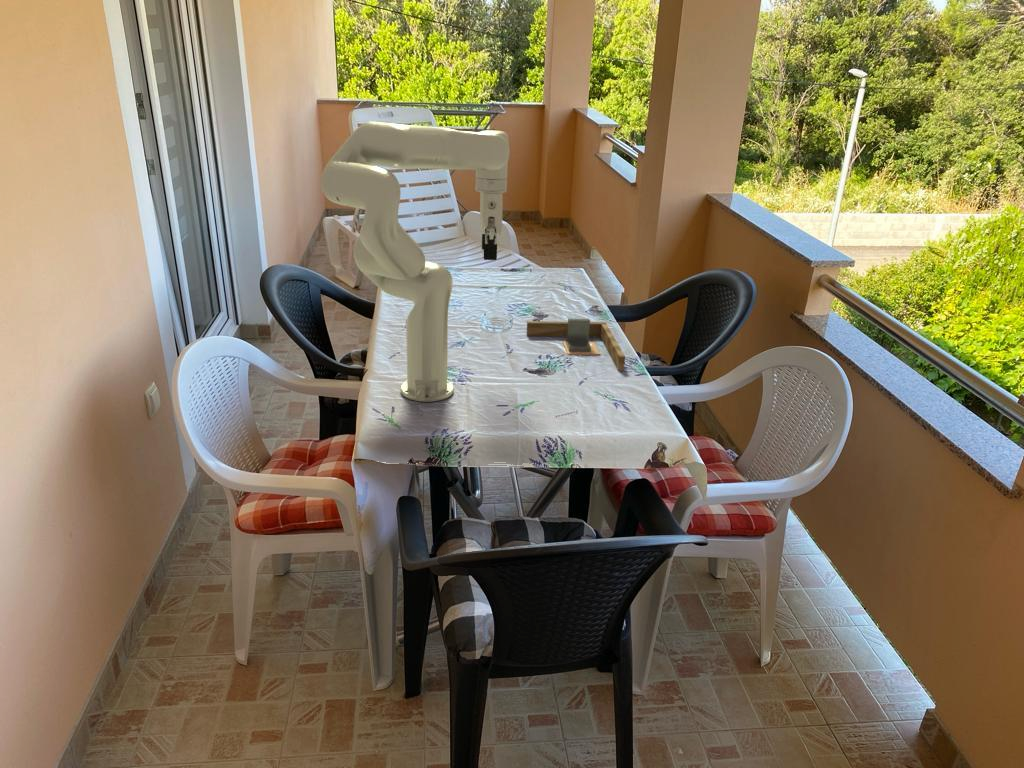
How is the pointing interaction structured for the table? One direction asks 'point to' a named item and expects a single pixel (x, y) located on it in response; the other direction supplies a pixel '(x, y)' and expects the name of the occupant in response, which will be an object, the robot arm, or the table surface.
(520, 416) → the table surface
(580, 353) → the pad
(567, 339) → the bracket
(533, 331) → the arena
